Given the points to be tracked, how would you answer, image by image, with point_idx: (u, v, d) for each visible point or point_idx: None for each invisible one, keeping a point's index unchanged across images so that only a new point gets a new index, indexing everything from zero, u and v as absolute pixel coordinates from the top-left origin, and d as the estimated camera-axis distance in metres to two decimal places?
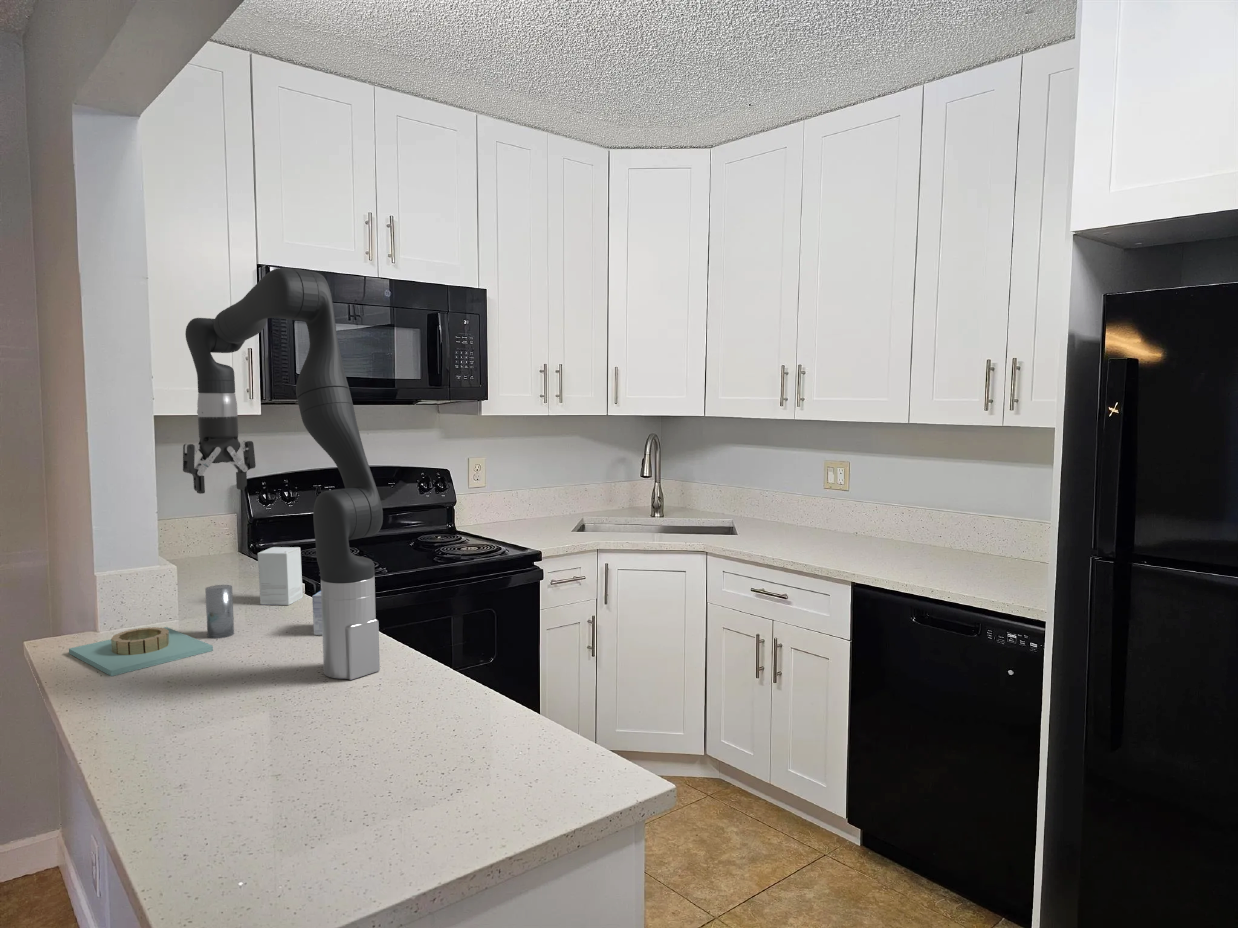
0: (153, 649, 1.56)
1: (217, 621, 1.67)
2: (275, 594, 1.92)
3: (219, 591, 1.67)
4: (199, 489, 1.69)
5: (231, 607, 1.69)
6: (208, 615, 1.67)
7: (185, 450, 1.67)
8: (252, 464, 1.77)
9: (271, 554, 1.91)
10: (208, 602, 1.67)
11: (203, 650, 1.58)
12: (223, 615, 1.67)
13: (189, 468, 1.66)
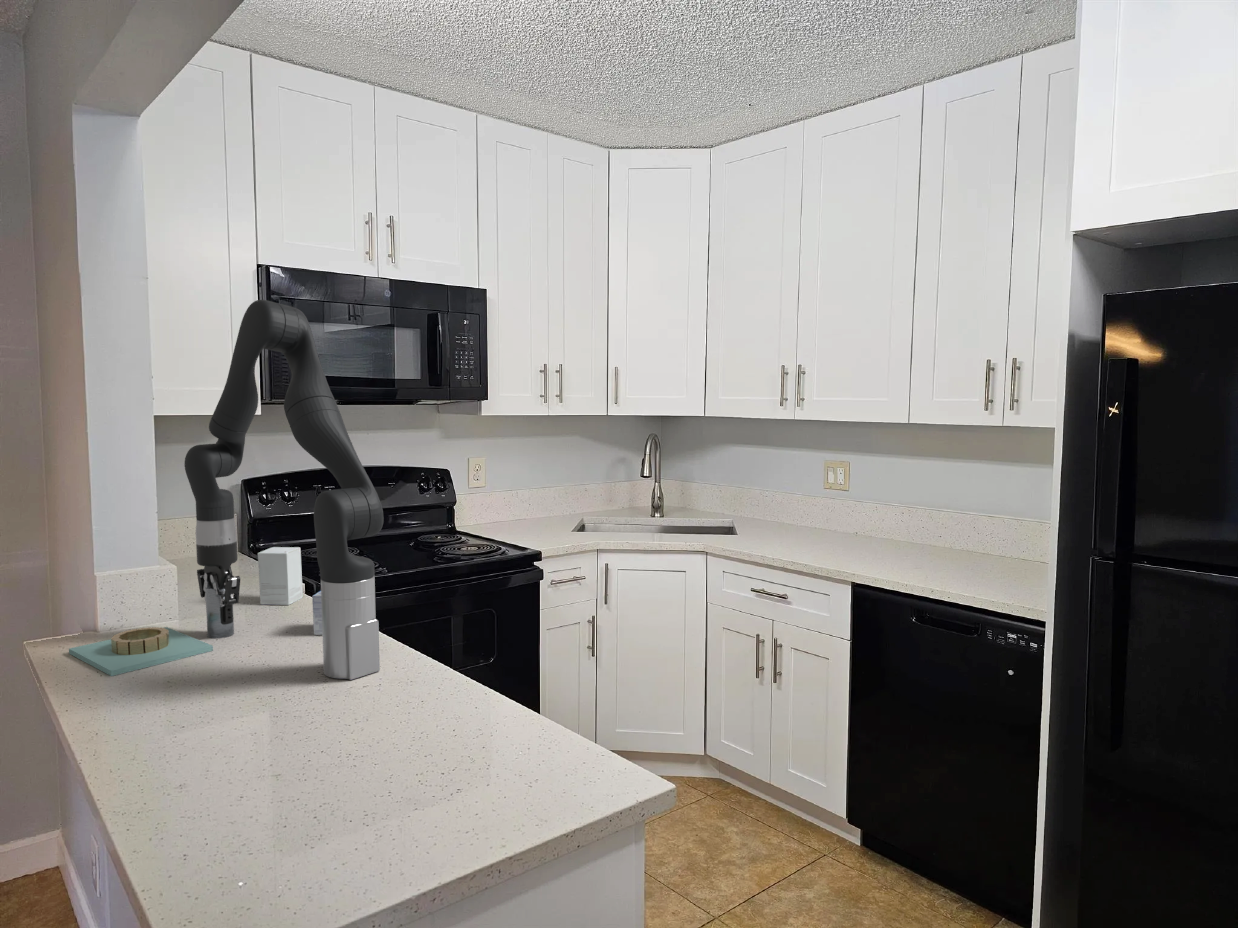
0: (153, 649, 1.56)
1: (217, 621, 1.67)
2: (275, 594, 1.92)
3: None
4: None
5: None
6: (208, 615, 1.67)
7: (232, 584, 1.64)
8: None
9: (271, 554, 1.91)
10: (208, 602, 1.67)
11: (203, 650, 1.58)
12: None
13: None
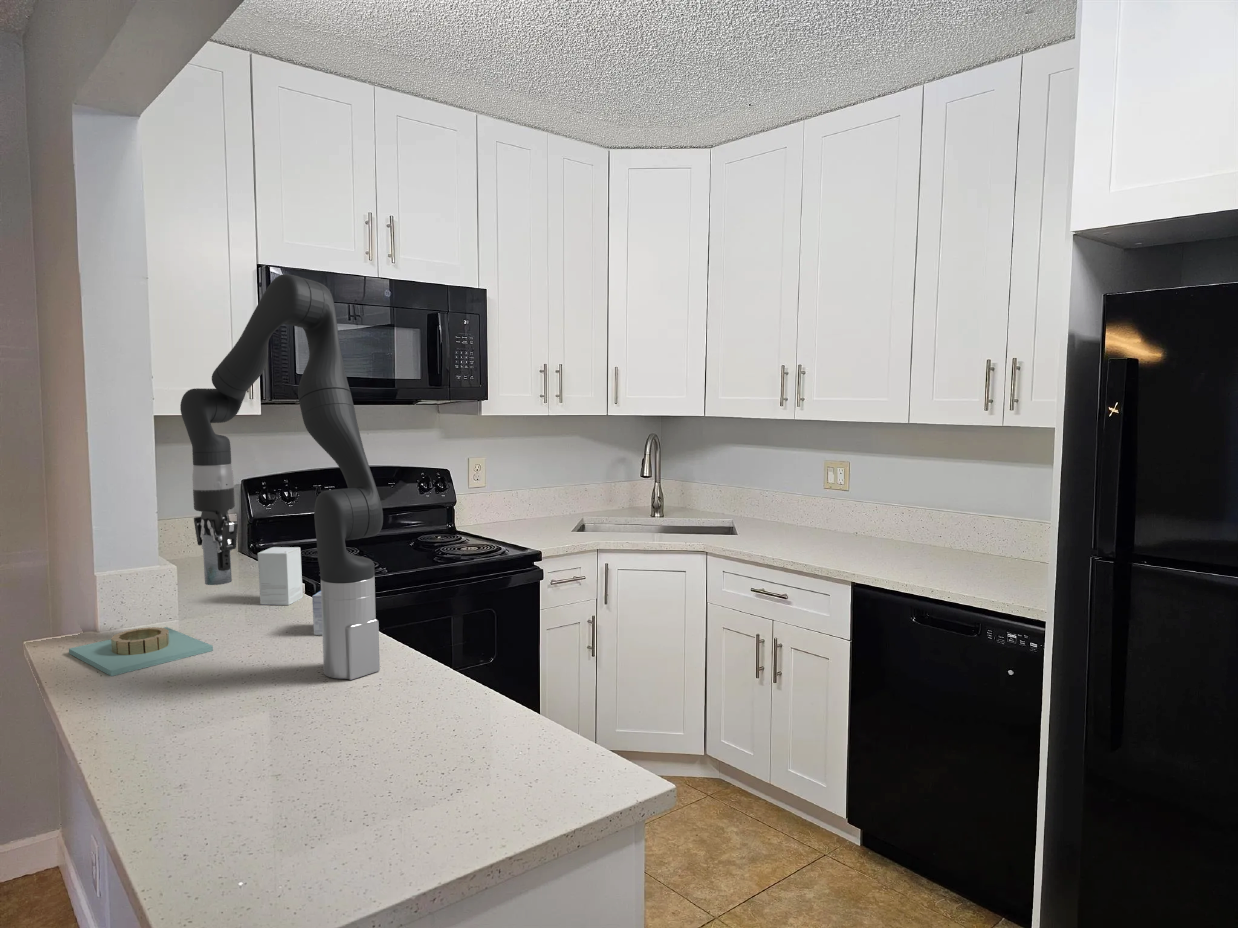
0: (153, 649, 1.56)
1: (214, 567, 1.66)
2: (275, 594, 1.92)
3: None
4: None
5: None
6: (205, 561, 1.66)
7: (230, 529, 1.63)
8: None
9: (271, 554, 1.91)
10: (205, 548, 1.65)
11: (203, 650, 1.58)
12: None
13: None
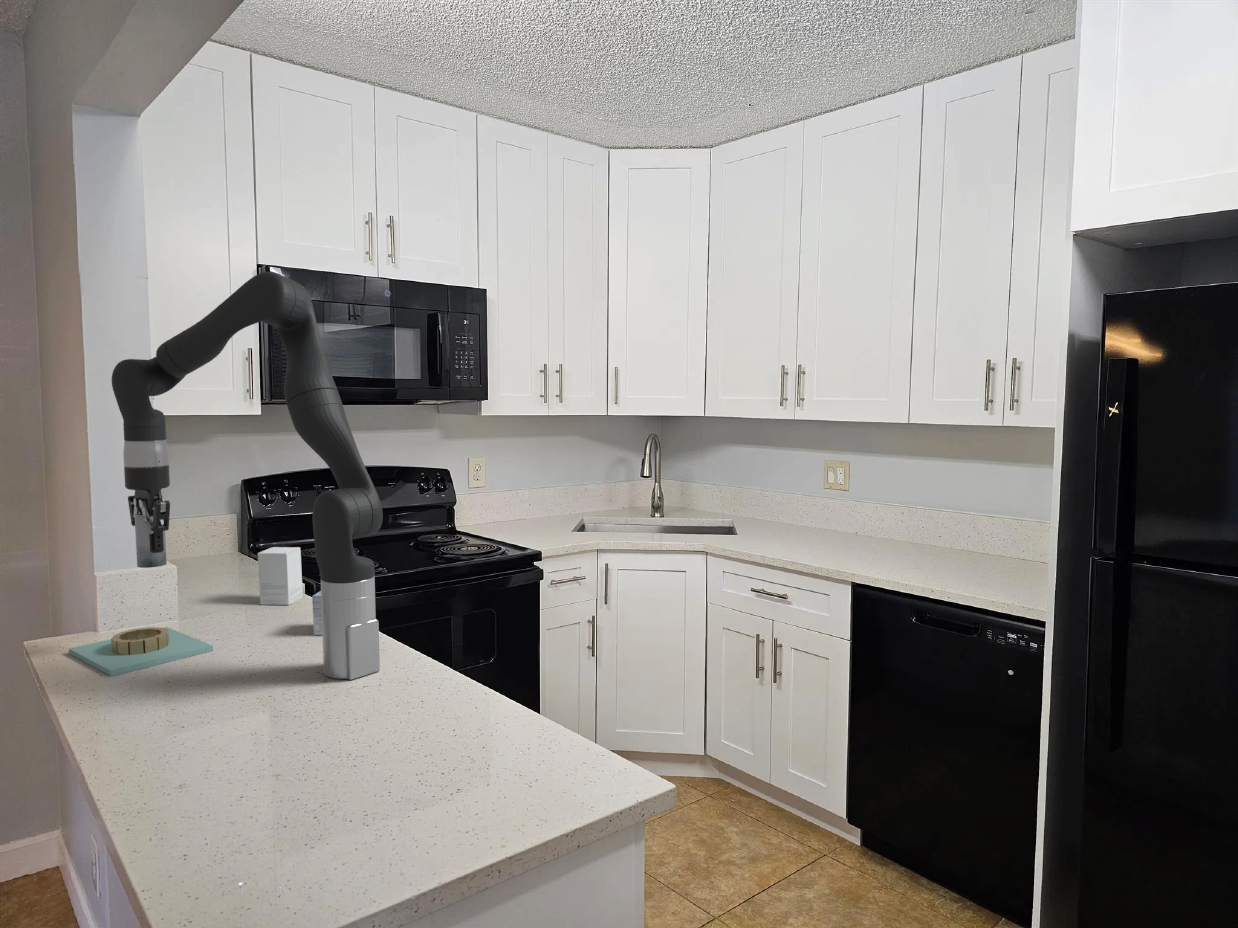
0: (153, 649, 1.56)
1: (146, 549, 1.56)
2: (275, 594, 1.92)
3: None
4: None
5: None
6: (137, 543, 1.57)
7: (161, 509, 1.54)
8: None
9: (271, 554, 1.91)
10: (137, 529, 1.56)
11: (203, 650, 1.58)
12: None
13: None
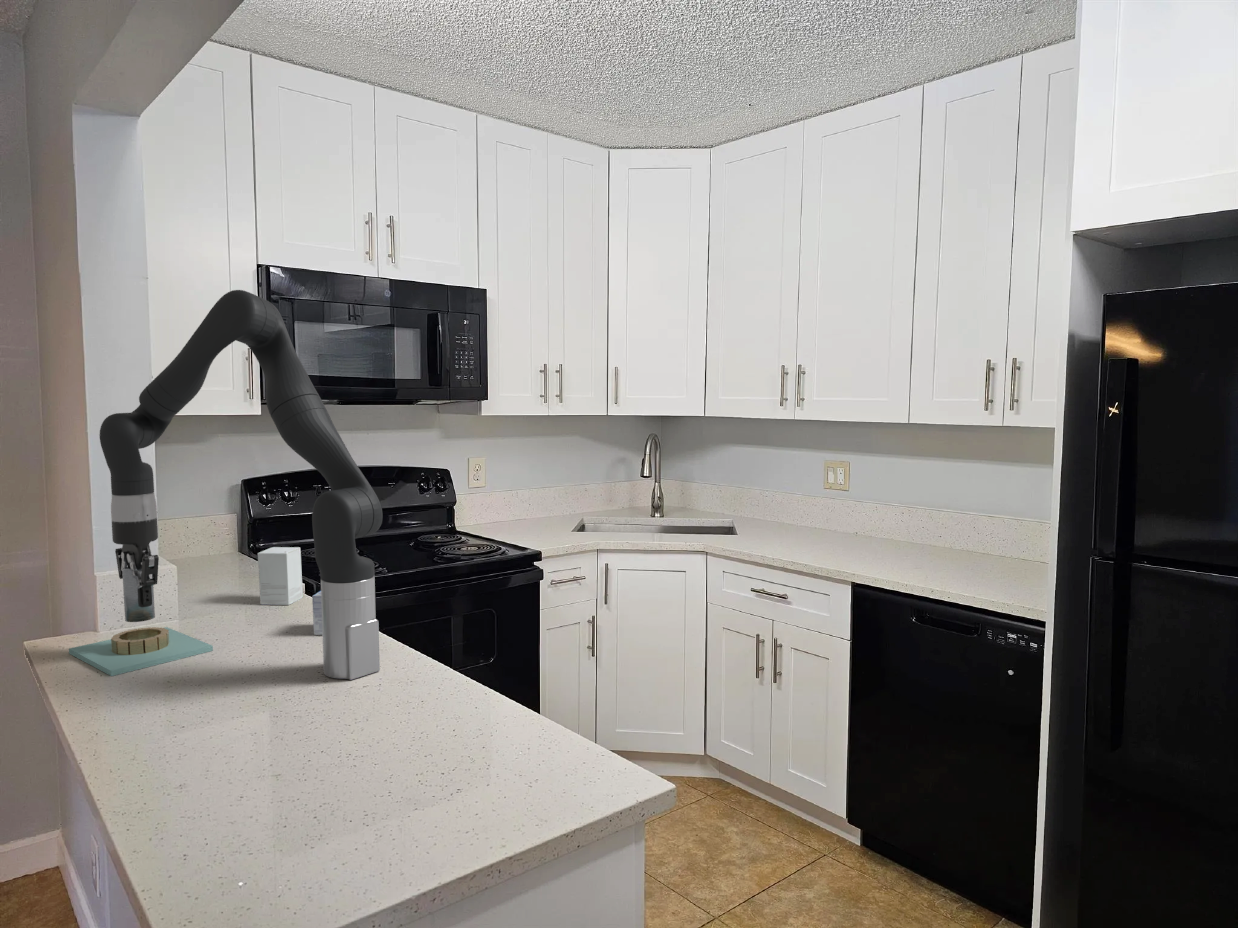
0: (153, 649, 1.56)
1: (134, 603, 1.55)
2: (275, 594, 1.92)
3: None
4: None
5: None
6: (125, 597, 1.55)
7: (149, 564, 1.53)
8: None
9: (271, 554, 1.91)
10: (125, 583, 1.55)
11: (203, 650, 1.58)
12: None
13: None
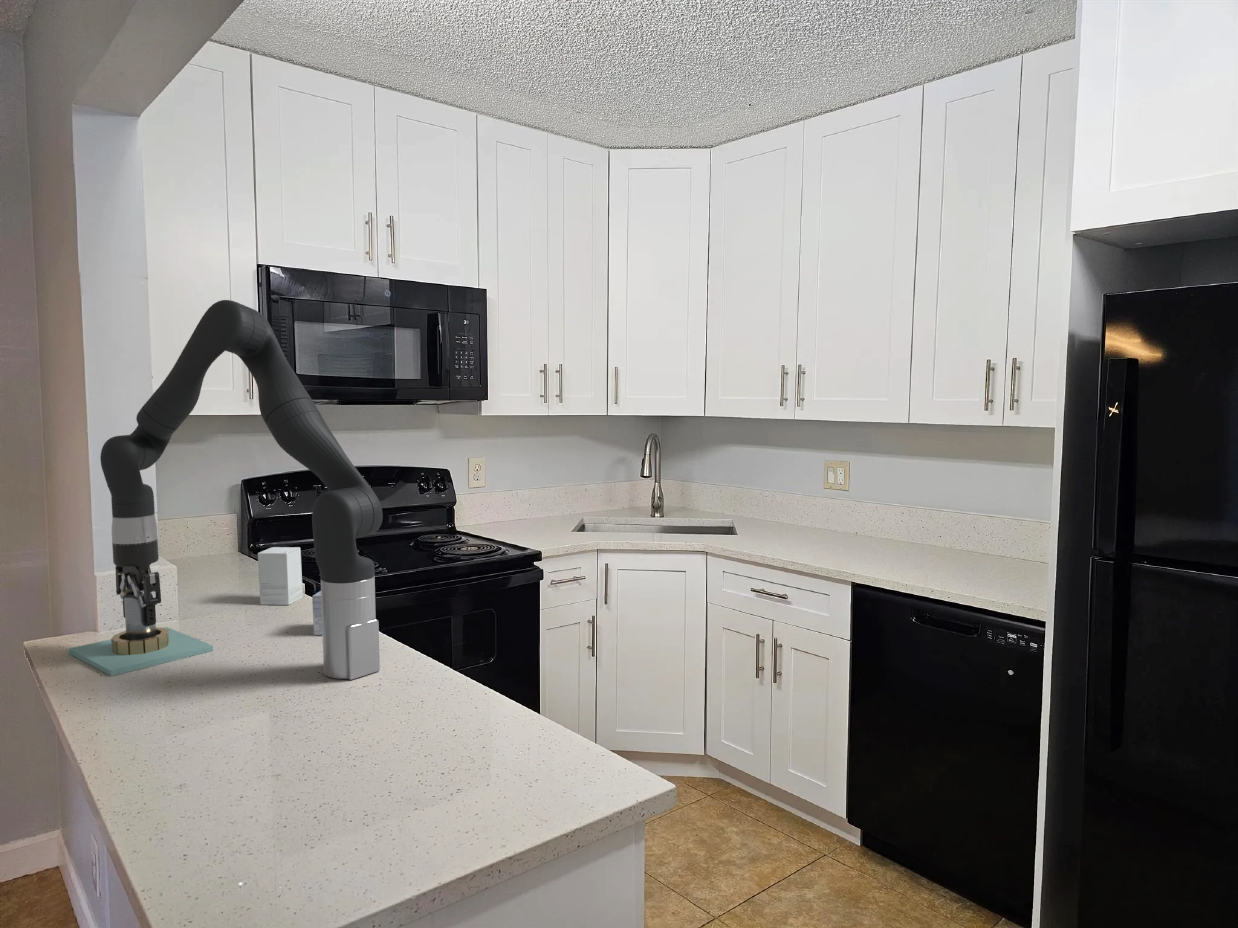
0: (153, 649, 1.56)
1: (136, 633, 1.56)
2: (275, 594, 1.92)
3: (138, 601, 1.55)
4: None
5: None
6: (127, 626, 1.56)
7: (151, 580, 1.53)
8: None
9: (271, 554, 1.91)
10: (127, 612, 1.55)
11: (203, 650, 1.58)
12: (143, 626, 1.56)
13: None
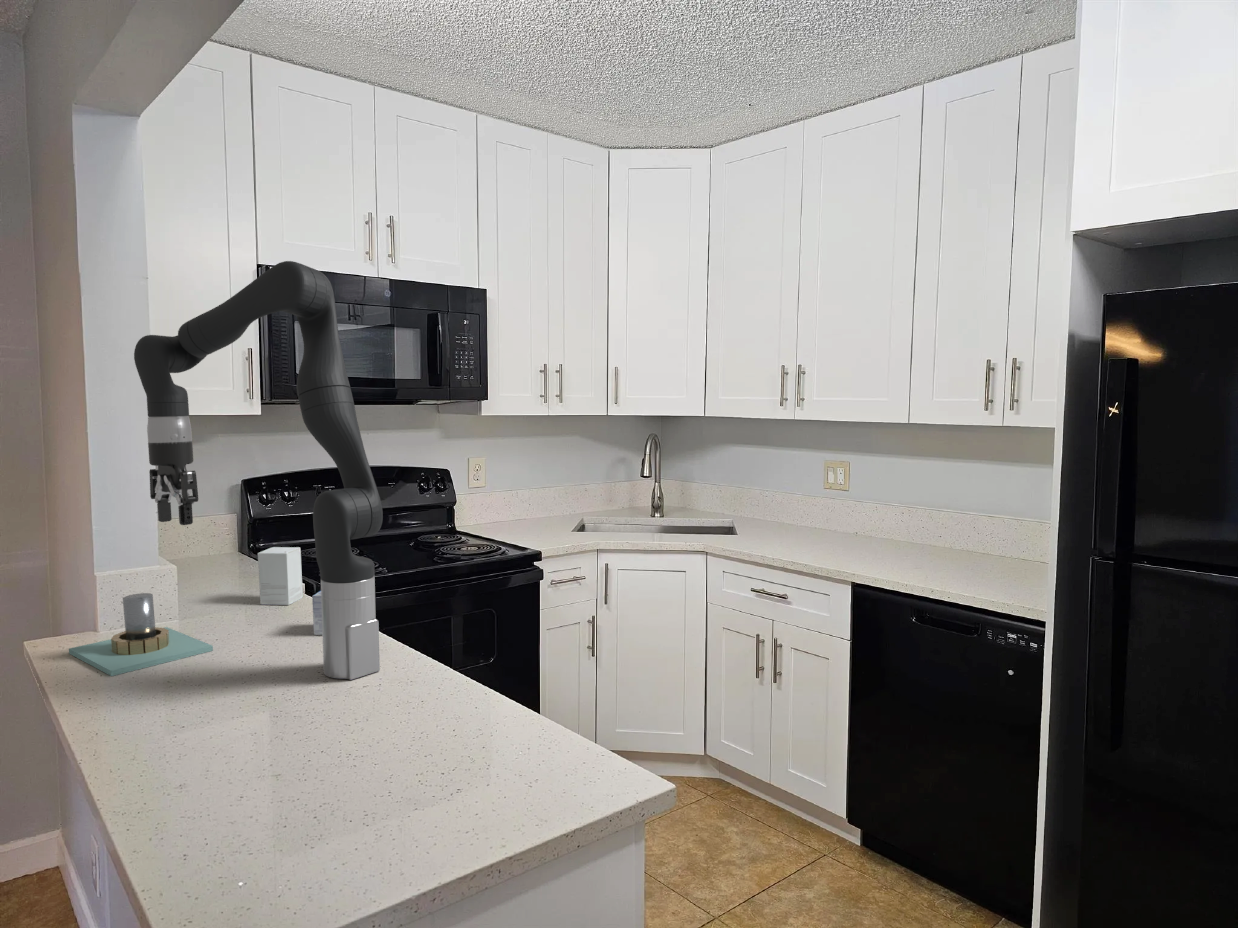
0: (153, 649, 1.56)
1: (135, 633, 1.55)
2: (275, 594, 1.92)
3: (137, 601, 1.55)
4: None
5: (151, 617, 1.57)
6: (126, 626, 1.56)
7: (188, 478, 1.54)
8: None
9: (271, 554, 1.91)
10: (125, 613, 1.55)
11: (203, 650, 1.58)
12: (142, 626, 1.56)
13: None
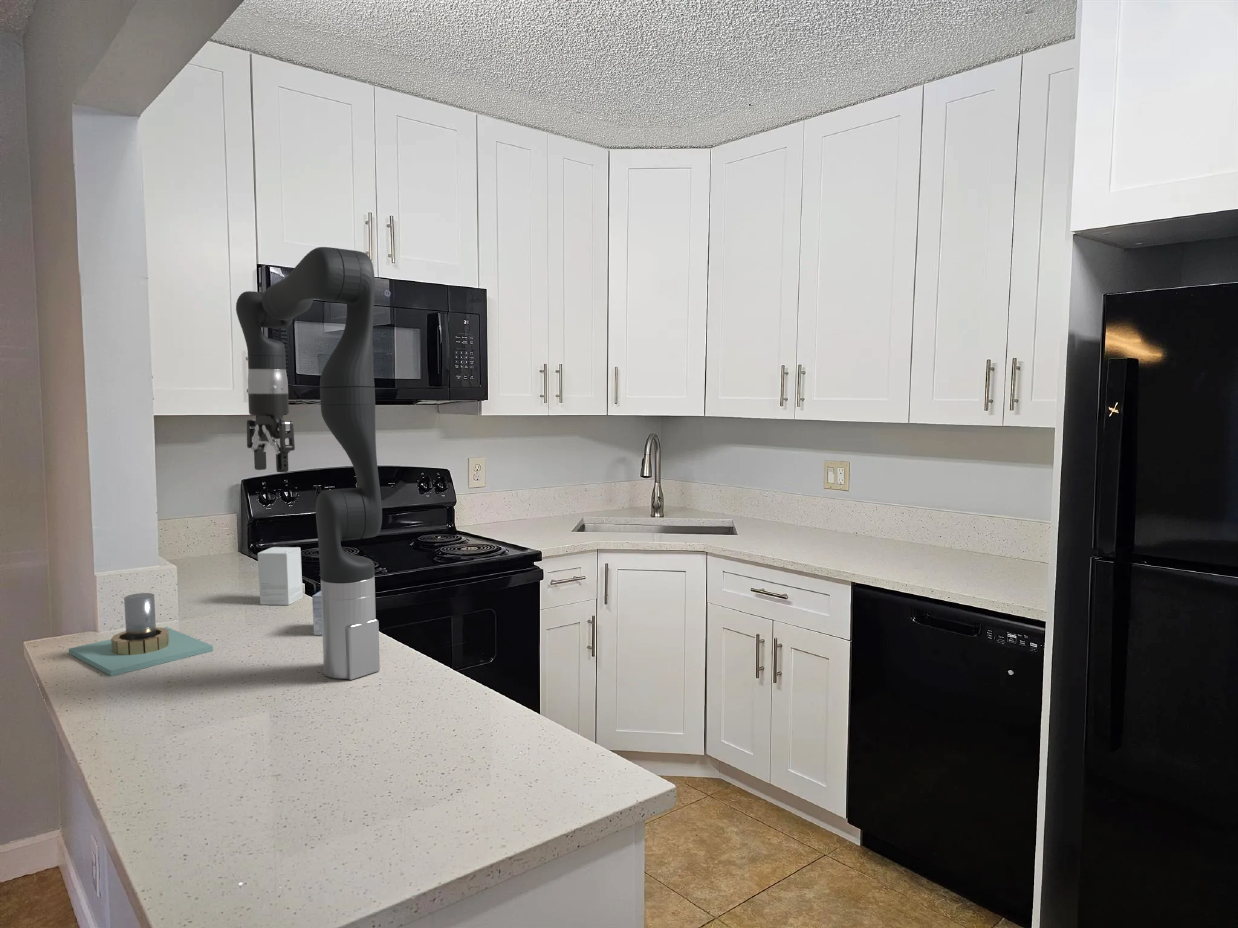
0: (153, 649, 1.56)
1: (135, 633, 1.55)
2: (275, 594, 1.92)
3: (137, 601, 1.55)
4: None
5: (152, 618, 1.57)
6: (126, 626, 1.56)
7: (286, 427, 1.62)
8: None
9: (271, 554, 1.91)
10: (126, 612, 1.55)
11: (203, 650, 1.58)
12: (142, 627, 1.56)
13: None
